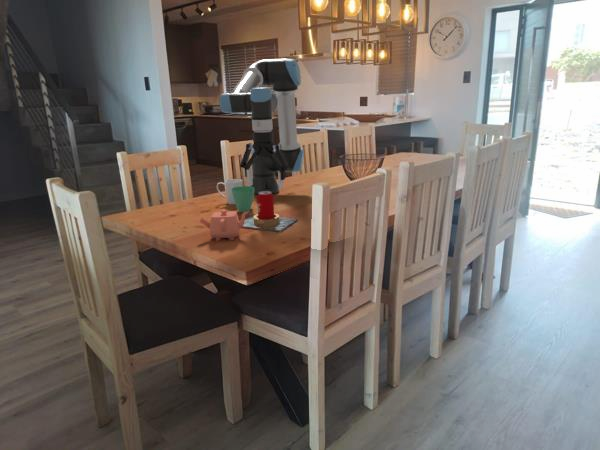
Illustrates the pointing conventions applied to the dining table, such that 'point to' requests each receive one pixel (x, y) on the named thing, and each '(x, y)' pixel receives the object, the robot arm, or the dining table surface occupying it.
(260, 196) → the beverage can
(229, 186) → the mug
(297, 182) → the dining table surface
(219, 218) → the teapot
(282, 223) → the grey can holder
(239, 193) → the mug
